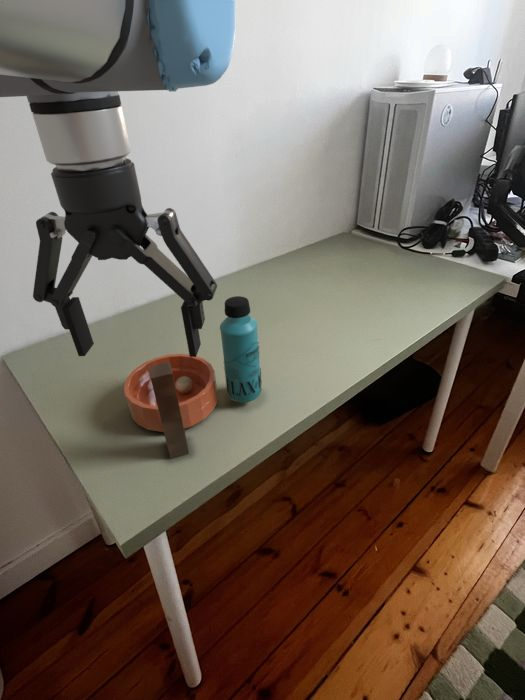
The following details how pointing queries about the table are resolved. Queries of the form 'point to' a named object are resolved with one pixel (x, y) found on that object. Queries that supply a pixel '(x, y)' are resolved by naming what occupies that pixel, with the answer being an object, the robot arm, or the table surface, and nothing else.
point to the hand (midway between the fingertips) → (140, 350)
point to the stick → (169, 409)
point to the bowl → (191, 404)
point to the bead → (184, 385)
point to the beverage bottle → (240, 351)
